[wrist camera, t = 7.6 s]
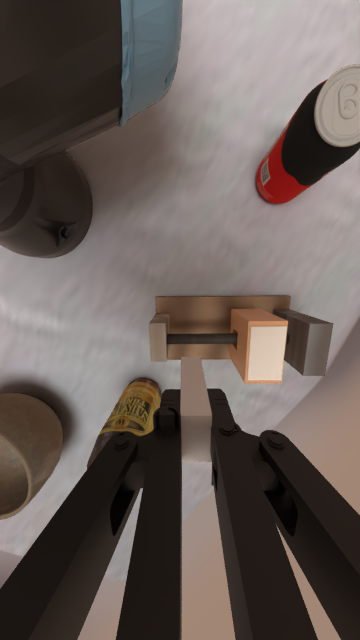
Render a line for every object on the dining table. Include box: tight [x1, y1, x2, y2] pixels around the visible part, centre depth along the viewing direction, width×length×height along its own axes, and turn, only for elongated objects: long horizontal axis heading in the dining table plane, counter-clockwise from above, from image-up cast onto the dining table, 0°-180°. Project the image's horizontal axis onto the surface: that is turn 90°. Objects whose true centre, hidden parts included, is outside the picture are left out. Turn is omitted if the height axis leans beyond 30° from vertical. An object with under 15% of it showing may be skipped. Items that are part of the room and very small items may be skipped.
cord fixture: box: [149, 296, 333, 376], centre depth 27 cm, size 20×10×10 cm, turn 91°
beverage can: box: [257, 64, 360, 203], centre depth 21 cm, size 6×6×12 cm
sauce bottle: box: [87, 379, 161, 469], centre depth 24 cm, size 6×6×20 cm
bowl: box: [0, 393, 63, 520], centre depth 31 cm, size 17×18×10 cm
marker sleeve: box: [229, 309, 288, 383], centre depth 25 cm, size 7×4×8 cm, turn 1°
